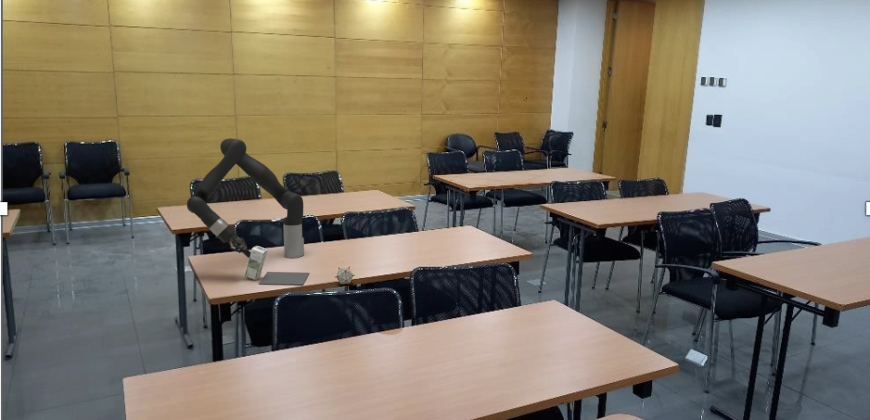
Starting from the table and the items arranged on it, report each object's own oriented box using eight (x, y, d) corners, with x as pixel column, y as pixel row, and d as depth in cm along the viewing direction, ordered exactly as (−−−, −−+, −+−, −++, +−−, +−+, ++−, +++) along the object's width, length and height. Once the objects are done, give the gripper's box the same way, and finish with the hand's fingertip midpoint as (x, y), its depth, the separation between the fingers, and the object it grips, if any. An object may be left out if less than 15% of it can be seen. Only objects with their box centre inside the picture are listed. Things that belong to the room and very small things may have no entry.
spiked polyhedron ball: (347, 293, 284) (349, 281, 277) (330, 285, 285) (332, 273, 278) (356, 279, 290) (358, 266, 283) (339, 271, 291) (342, 259, 284)
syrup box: (260, 276, 292) (268, 248, 288) (255, 281, 286) (263, 252, 282) (249, 272, 292) (256, 244, 288) (244, 276, 286) (251, 248, 282)
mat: (258, 284, 281) (258, 283, 281) (267, 272, 297) (267, 271, 297) (302, 285, 282) (302, 284, 282) (309, 273, 297) (309, 272, 297)
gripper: (223, 228, 277) (252, 255, 280) (232, 220, 289) (260, 246, 292) (212, 239, 278) (241, 266, 281) (221, 231, 291) (249, 257, 294)
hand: (250, 256), depth 287 cm, fingers closed
